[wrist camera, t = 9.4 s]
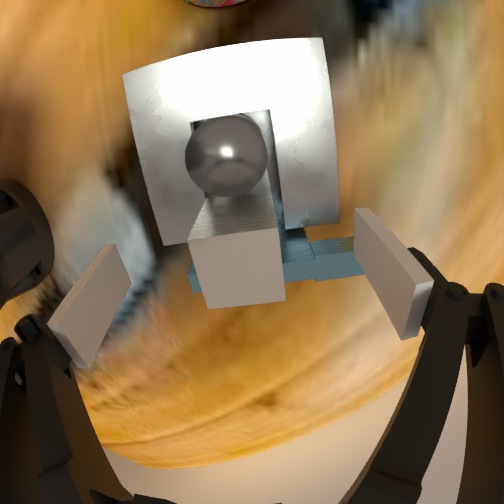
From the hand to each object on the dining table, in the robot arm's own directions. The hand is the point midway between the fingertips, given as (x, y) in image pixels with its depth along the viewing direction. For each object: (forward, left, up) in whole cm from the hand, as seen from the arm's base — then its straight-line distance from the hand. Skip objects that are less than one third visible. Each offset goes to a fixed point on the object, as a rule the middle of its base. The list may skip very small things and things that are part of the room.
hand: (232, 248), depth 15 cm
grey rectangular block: (0, 0, -10) cm, 10 cm away
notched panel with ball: (+2, +3, -12) cm, 12 cm away
